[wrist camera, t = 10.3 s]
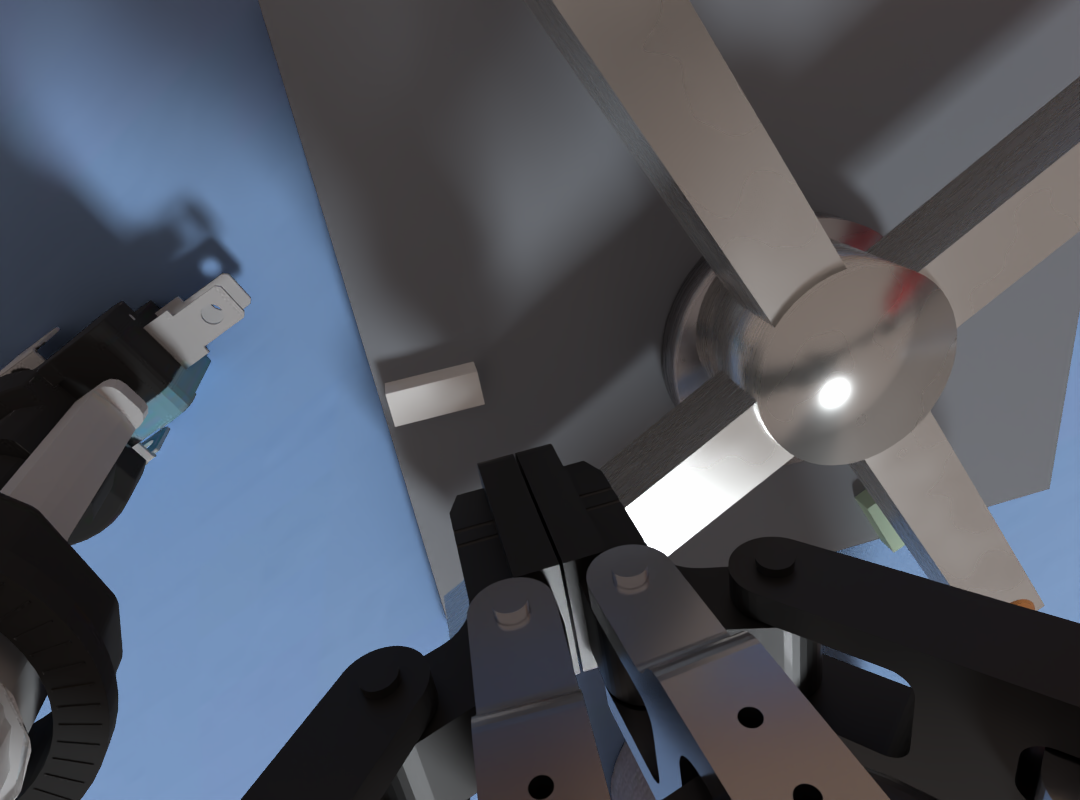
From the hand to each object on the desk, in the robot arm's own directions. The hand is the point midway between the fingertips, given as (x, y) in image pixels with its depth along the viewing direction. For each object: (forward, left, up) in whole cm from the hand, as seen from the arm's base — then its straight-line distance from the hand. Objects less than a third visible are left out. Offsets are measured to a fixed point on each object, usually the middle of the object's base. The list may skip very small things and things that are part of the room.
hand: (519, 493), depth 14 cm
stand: (-7, -1, -4) cm, 8 cm away
